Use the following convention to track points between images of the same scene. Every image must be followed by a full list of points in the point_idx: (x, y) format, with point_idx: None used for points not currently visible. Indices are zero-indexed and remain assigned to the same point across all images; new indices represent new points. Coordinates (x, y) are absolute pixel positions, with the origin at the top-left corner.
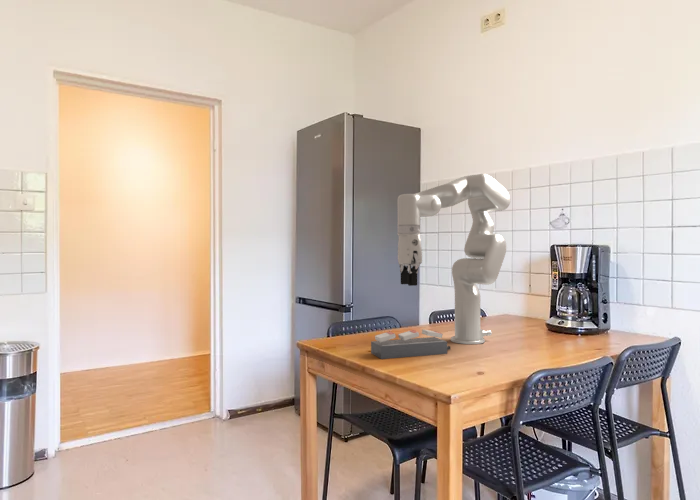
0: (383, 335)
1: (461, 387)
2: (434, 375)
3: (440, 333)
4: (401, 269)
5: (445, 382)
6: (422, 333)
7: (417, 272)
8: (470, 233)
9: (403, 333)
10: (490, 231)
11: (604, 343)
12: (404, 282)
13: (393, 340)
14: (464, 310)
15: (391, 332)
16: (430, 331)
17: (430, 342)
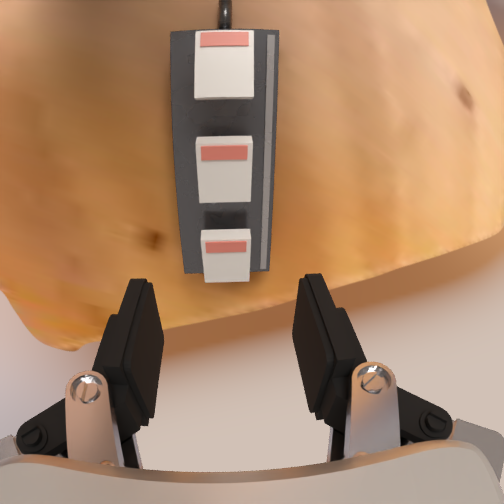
0: (230, 266)
1: (497, 195)
2: (436, 196)
3: (250, 38)
4: (132, 450)
5: (472, 203)
6: (204, 99)
7: (387, 372)
8: None
9: (209, 186)
10: None
11: None
12: (159, 330)
13: (188, 205)
14: None
15: (227, 244)
16: (236, 77)
17: (272, 96)
